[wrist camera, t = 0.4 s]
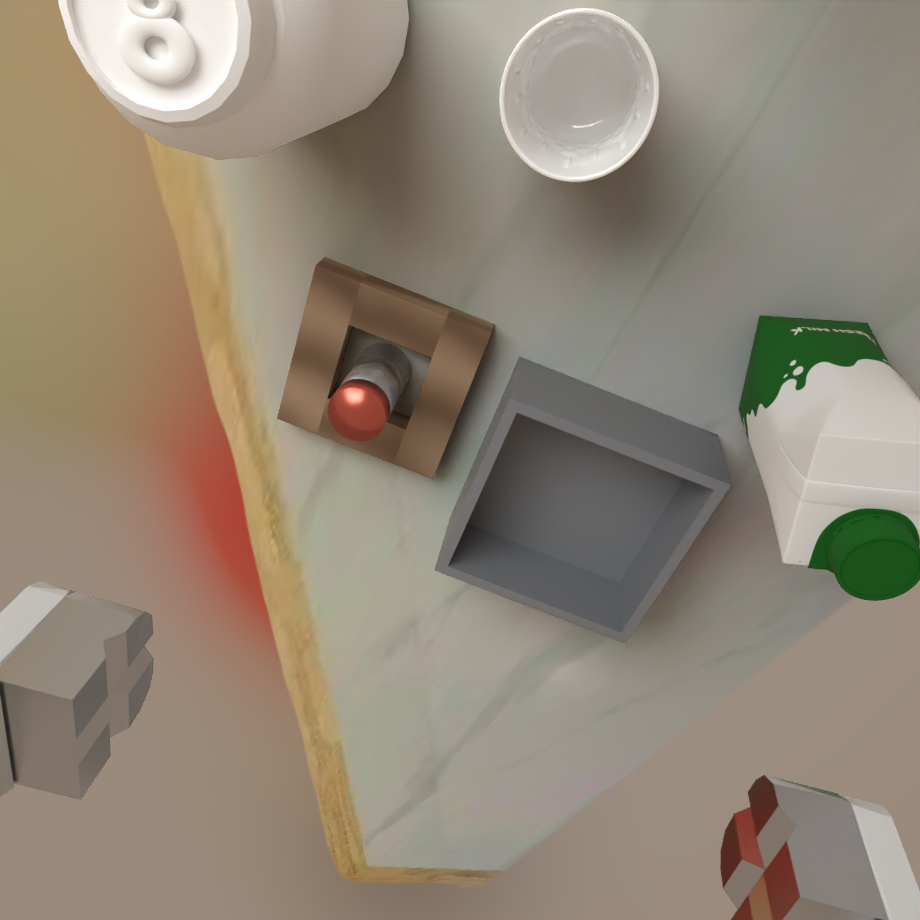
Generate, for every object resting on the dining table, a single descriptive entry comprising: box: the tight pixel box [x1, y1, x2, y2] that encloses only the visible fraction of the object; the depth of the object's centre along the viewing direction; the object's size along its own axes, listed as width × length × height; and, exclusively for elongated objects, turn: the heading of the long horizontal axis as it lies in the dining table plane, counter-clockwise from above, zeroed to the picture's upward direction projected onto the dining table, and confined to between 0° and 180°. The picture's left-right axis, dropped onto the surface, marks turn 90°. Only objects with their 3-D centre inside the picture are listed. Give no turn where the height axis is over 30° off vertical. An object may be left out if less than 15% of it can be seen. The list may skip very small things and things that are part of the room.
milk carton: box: [739, 316, 920, 601], centre depth 45 cm, size 9×9×20 cm
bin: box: [435, 357, 731, 643], centre depth 58 cm, size 16×16×7 cm
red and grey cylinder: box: [327, 343, 410, 441], centre depth 55 cm, size 4×4×8 cm
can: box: [59, 0, 409, 160], centre depth 39 cm, size 12×12×20 cm
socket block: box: [277, 257, 494, 479], centre depth 58 cm, size 13×13×2 cm
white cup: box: [499, 8, 659, 182], centre depth 43 cm, size 8×8×10 cm
